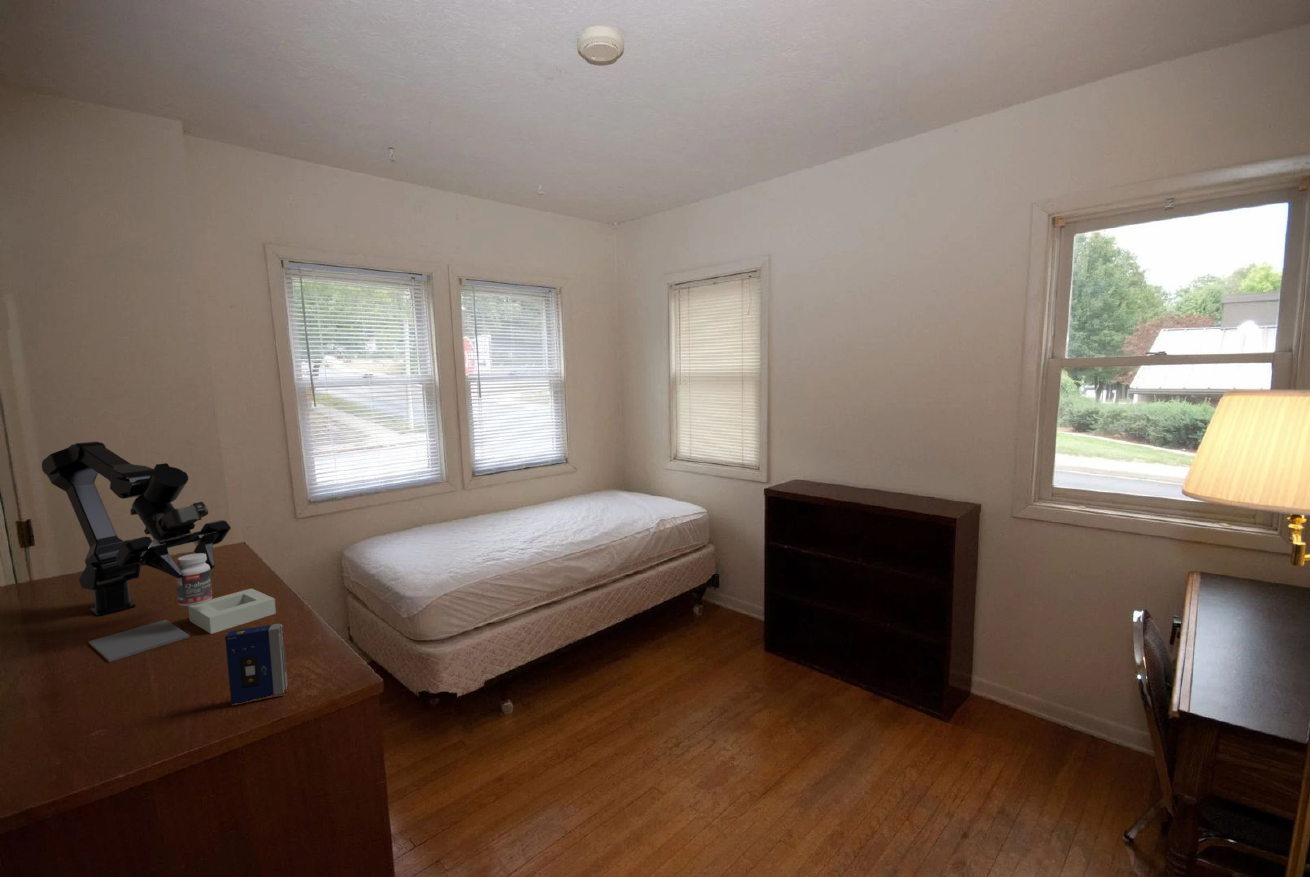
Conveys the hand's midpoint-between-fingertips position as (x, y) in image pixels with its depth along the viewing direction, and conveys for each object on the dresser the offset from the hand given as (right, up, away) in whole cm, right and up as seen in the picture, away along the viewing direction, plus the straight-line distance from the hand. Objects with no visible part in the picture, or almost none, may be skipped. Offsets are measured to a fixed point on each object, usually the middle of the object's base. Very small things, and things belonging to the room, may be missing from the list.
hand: (197, 572), depth 116 cm
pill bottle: (-1, -7, +1) cm, 7 cm away
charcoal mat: (-8, -13, -4) cm, 16 cm away
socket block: (+3, -12, +7) cm, 14 cm away
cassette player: (+32, -15, -25) cm, 43 cm away
